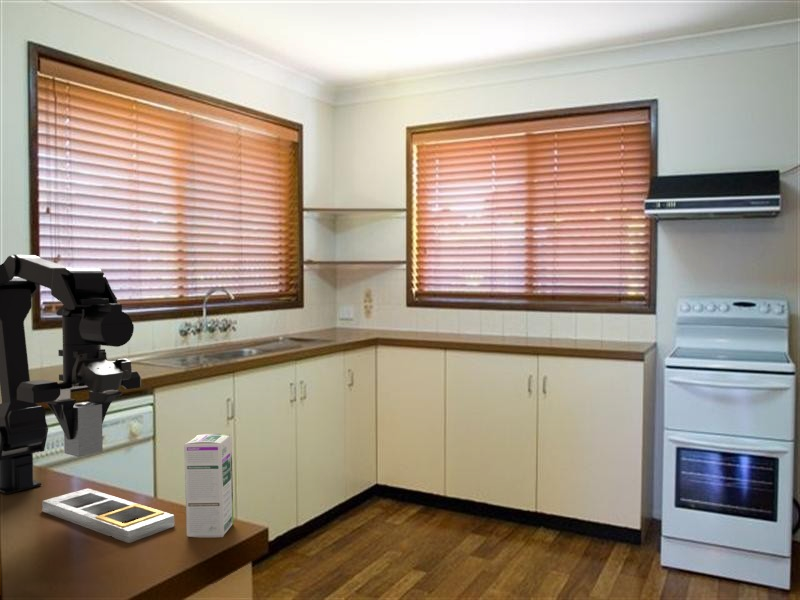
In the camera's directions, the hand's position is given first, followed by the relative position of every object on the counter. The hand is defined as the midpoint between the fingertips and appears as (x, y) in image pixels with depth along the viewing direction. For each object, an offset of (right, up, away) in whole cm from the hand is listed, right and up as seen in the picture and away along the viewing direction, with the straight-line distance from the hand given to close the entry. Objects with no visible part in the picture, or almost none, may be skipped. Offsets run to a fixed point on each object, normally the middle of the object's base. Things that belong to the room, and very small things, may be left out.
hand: (83, 436), depth 111 cm
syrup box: (+23, -13, -8) cm, 28 cm away
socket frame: (+5, -13, -3) cm, 14 cm away
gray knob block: (0, -3, 0) cm, 3 cm away
